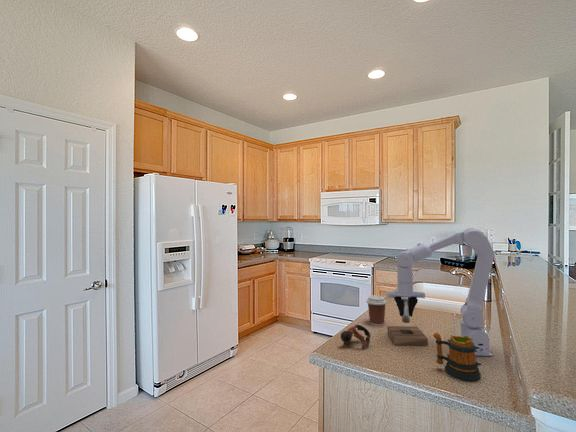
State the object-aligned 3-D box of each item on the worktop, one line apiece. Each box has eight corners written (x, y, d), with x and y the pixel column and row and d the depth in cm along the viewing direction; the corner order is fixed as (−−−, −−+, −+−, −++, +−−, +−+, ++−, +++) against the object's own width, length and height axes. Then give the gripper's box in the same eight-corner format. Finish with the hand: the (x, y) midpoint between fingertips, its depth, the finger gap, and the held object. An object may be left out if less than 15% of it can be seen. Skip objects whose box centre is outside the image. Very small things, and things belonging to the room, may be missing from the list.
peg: (410, 323, 116) (410, 300, 116) (402, 322, 116) (402, 300, 116) (409, 320, 119) (408, 298, 119) (401, 320, 119) (400, 298, 119)
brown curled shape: (354, 338, 120) (363, 322, 118) (367, 357, 112) (377, 341, 110) (331, 336, 115) (341, 320, 112) (343, 356, 107) (354, 339, 105)
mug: (479, 368, 93) (478, 332, 93) (484, 385, 84) (483, 345, 84) (433, 361, 99) (432, 326, 99) (434, 375, 90) (433, 338, 90)
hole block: (427, 345, 111) (427, 337, 111) (395, 345, 112) (394, 337, 112) (417, 333, 122) (416, 326, 123) (387, 333, 124) (387, 325, 124)
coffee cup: (388, 321, 138) (388, 295, 138) (385, 327, 130) (385, 300, 130) (369, 318, 142) (368, 293, 142) (364, 324, 134) (364, 298, 134)
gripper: (420, 279, 121) (421, 312, 120) (384, 279, 122) (385, 312, 122) (426, 283, 114) (427, 318, 113) (388, 283, 115) (389, 318, 115)
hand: (405, 315), depth 117 cm, fingers closed on peg, 3 cm apart
